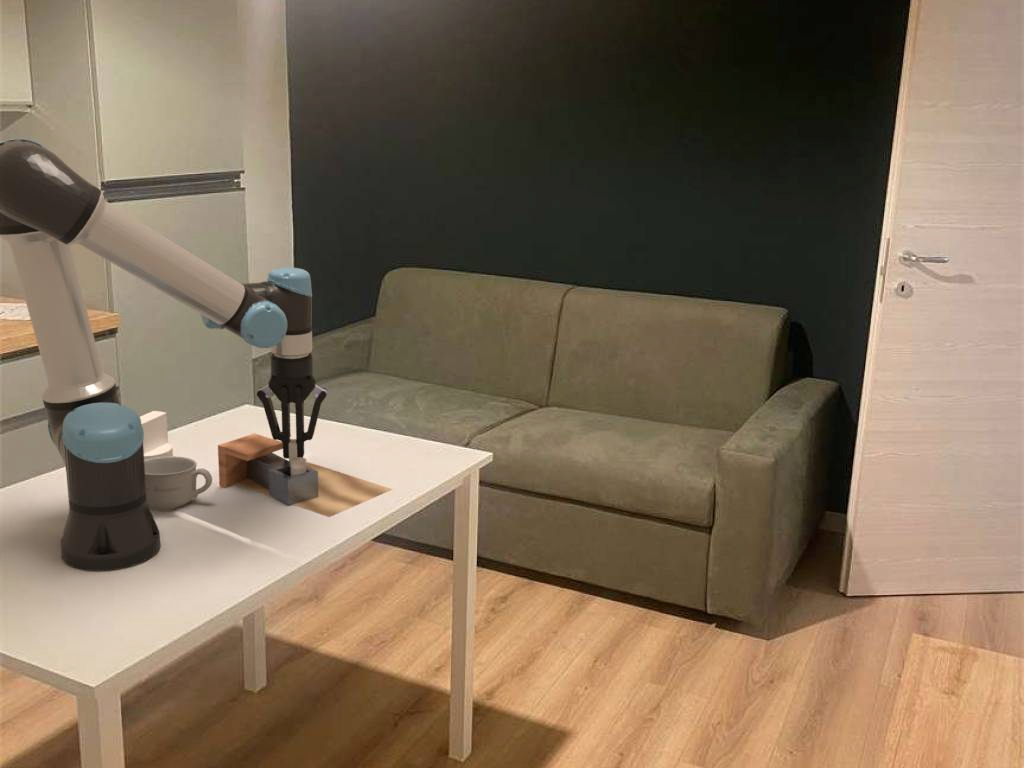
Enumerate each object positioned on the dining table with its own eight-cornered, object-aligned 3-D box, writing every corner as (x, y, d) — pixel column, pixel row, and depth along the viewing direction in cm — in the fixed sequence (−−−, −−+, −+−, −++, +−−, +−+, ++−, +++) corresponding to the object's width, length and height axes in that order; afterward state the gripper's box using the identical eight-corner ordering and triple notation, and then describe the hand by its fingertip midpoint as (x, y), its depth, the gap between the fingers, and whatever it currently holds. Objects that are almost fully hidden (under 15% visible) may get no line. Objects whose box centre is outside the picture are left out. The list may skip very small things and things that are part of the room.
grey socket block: (318, 497, 194) (318, 471, 192) (288, 505, 189) (287, 479, 188) (271, 471, 205) (270, 447, 203) (241, 479, 200) (240, 454, 199)
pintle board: (325, 524, 185) (324, 480, 182) (219, 486, 199) (217, 445, 197) (392, 494, 199) (393, 453, 197) (289, 460, 214) (288, 422, 211)
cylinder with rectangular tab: (154, 489, 197) (151, 428, 193) (114, 481, 199) (110, 421, 196) (183, 473, 205) (180, 414, 202) (144, 466, 208) (141, 408, 204)
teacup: (122, 510, 187) (119, 468, 185) (162, 490, 197) (159, 449, 194) (188, 524, 182) (186, 481, 180) (225, 502, 192) (223, 461, 190)
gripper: (329, 348, 197) (330, 467, 203) (258, 347, 195) (262, 466, 202) (325, 359, 189) (327, 481, 196) (252, 358, 188) (256, 481, 195)
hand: (294, 473), depth 199 cm, fingers closed
